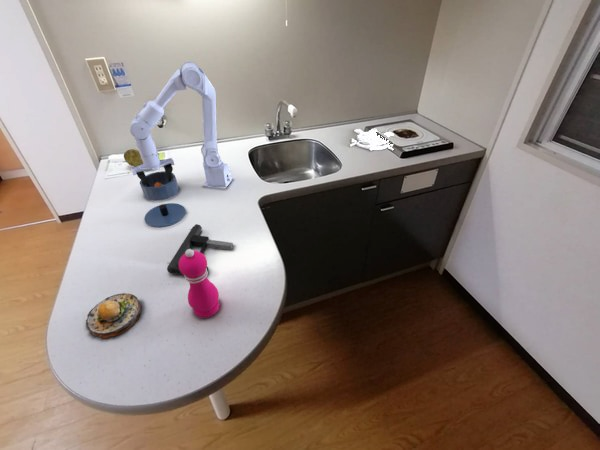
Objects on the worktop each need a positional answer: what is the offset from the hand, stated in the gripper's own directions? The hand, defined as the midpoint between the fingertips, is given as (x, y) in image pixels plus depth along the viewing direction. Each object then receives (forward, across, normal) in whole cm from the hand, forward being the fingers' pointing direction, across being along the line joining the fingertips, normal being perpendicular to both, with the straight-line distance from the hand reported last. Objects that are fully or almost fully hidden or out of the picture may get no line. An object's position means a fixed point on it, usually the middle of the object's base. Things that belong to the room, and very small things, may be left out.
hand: (159, 185), depth 118 cm
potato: (+3, -2, +26) cm, 27 cm away
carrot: (+3, 0, 0) cm, 3 cm away
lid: (+3, -3, -17) cm, 17 cm away
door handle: (+3, +2, -42) cm, 43 cm away
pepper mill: (+3, -4, -62) cm, 62 cm away
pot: (+3, 0, 0) cm, 3 cm away
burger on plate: (+3, -24, -52) cm, 58 cm away
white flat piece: (+4, +105, -8) cm, 105 cm away
